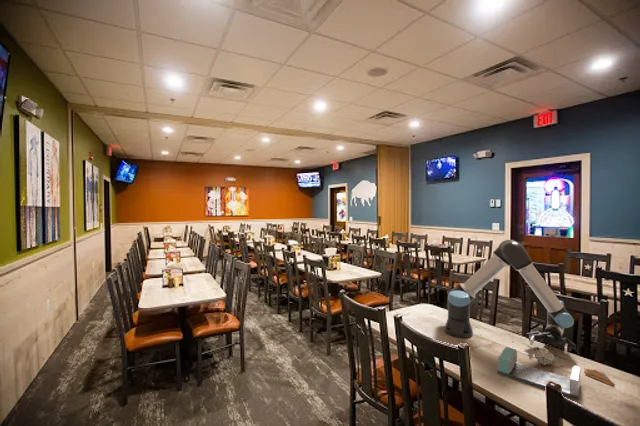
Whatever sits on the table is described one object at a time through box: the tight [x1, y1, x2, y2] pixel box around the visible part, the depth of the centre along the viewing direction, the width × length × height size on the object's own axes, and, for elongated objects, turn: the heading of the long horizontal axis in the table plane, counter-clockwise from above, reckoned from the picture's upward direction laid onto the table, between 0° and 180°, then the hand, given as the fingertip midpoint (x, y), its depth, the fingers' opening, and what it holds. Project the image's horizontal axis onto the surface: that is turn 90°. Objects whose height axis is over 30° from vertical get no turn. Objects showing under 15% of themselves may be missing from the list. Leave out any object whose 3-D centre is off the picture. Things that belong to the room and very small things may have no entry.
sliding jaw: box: [498, 346, 518, 374], centre depth 141 cm, size 14×4×6 cm, turn 137°
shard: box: [583, 368, 616, 387], centre depth 134 cm, size 11×8×2 cm
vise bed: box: [496, 362, 581, 401], centre depth 133 cm, size 14×28×8 cm, turn 47°
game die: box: [532, 345, 557, 368], centre depth 146 cm, size 9×8×10 cm
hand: (547, 346), depth 151 cm, fingers open, 13 cm apart
